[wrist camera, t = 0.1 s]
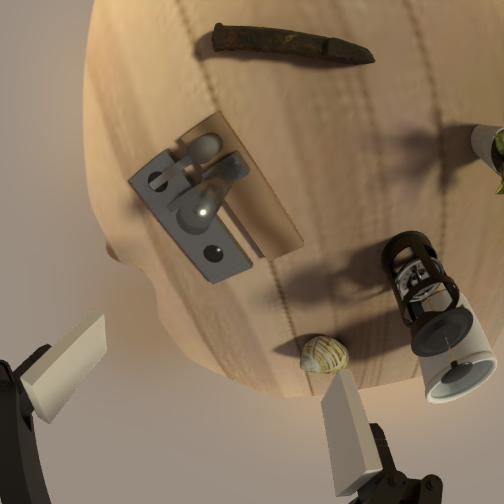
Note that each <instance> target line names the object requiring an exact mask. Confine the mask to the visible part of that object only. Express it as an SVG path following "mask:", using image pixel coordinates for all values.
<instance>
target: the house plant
mask: <svg viewBox="0 0 504 504" xmlns="http://www.w3.org/2000/svg"><path fill="white" fill-rule="evenodd" d="M471 146H472V149H473V151H474V152H475V154H476V155H477V156H479V157H480V158H481V159H482V160H483V161H484V162H485V163H486V164H487V165H488V166H489V167H490V168H492V169H493V170H494V171H495V172H496V173H497V174H498V175H499V176H501V182H500V186H499V188H498V189H497V190H496V192H495V194H496V193H497V194H504V184H503V183H504V127H500V126H489V125H478V126H476V127H475V128H474V129H473V131H472V134H471Z"/></svg>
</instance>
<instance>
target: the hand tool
mask: <svg viewBox="0 0 504 504" xmlns="http://www.w3.org/2000/svg"><path fill="white" fill-rule="evenodd" d="M212 42H213V48H214V51H215V52H219V51H222V50H223V49H227V50H230V51H234V50H235V49H239V50H247V51H257V52H260V51H262V52H279V53H288V54H296V55H302V56H309V57H315V58H321V59H325V60H329V61H335V62H341V63H353V64H357V63H364V64H368V63H374V62H375V59H374V57H373V55H372V54H371V52H370V51H369V50H368V49H366V48H364V47H361V46H359V45H356V44H353V43H349V42H347V41H344V40H341V39H338V38H327V37H323V36H318V35H312V34H306V33H302V32H295V31H291V30H283V29H275V28H265V27H253V26H225V25H223V24H221V23H217V24H216V25H215V27H214V32H213V36H212Z"/></svg>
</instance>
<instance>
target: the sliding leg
mask: <svg viewBox="0 0 504 504" xmlns="http://www.w3.org/2000/svg"><path fill="white" fill-rule="evenodd" d="M250 170H251V169H250V167H249V166H248V164H247V163H246V161H245V160H244V158H243V157H242V155H241V154H240V152H239V151H238V150H237V151H235V152H234V153H232V154H230V155H229V156H227V157H225V158H224V159H222V160H221V161H219V162H217V163H216V164H214V165H213V166H211V167H210V168H208V169H207V170H206V171H205V172H204V173H203V174H202V176H203V178H204V179H203V181H202V182H200V183H198V184H197V185H195V186H194V187H192V188H191V189H189V190H188V191H186V192H185V193H183V194H182V195H180V196H179V197H177V198H176V199H175V200H173V201H172V202H170V203H168V205H167V206H166V208H167V209H168V210H169V211H170V213H172V212H173V211H175V210H176V209H178V208H179V207H180V208H179V209H178V211H177V214H176V220H177V223H178V225H179V226H180V228H181V229H182V230H183V231H185V232H186V233H188V234H191V235H200V234H203V233H205V232H206V231H207V230H208V228H209V226H210V225H211V223H212V221H213V219H214V217H215V215H216V214H217V212H218V210H219V208H220V206H221V204H222V203H223V201H224V199H225V197H226V196H227V194H228V192H229V190H230V188H231V187H232V185H233V183H234V182H236V181H238V180H239V179H241V178H243V177H245V176H246V175H248V174H249V172H250Z"/></svg>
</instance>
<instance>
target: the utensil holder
mask: <svg viewBox="0 0 504 504" xmlns="http://www.w3.org/2000/svg"><path fill="white" fill-rule="evenodd" d="M459 292H460V291H459ZM429 298H430V301H431V303H432V305H433V307H434V310H435V311H444V310H445V309H446V308H447V307H448V306H449V305H450V303H451V302H452V299H451V297H450V295H449V293H448V291H447V290H444V291H440V292H438V293H436V294H434V295H432V296H430V297H429ZM421 304H422V306H423V309H424V311H425V312H427V311H432V309H431V307H430V304H429V302H428V300H427V299H426V300H425V301H424V302H422V303H421ZM461 304H463V305H464V307H465V308H467V309H469V310H470V311H471V313H472V315H473V325H472V327H471V329H470V331H469V333H468V334H467V335H466V337H465V338H464V339H463V340H462V341H461V342H460V343H459V344H457V345H456V346H455V347H453V348H452V349H451V352H452V355H453V358H454V360H457V362H458V365H459V364H462V363H465V362H471V363H473V368H472V369H471V371H470V372H469V373H468V374H467V375H466V376H465V377H463V378H462V379H460V380H458V381H456V382H454V383H450V384H443V383H441V378H442V377H443V375H444V374H445V373H446V372H448V371H449V370H450V369H451V365H450V363H451V362H452V361H451V358H450V355H449V352H448V351H446V352H444V353H442V354H439V355H436V356H431V357H421V356H418V358H419V362H420V366H421V370H422V375H423V380H424V384H425V396H426V399H427V401H428V402H430V403H434V404H440V403H445V402H449V401H452V400H455V399H457V398H460V397H462V396H464V395H466V394H468V393H470V392H471V391H473V390H474V389H476V388H477V387H479V386H480V385H481V384H483V383H484V382H485V381H486V380H487V379H488V378H489V377H490V376H491V375H492V374H493V372H494V371H495V369H496V367H497V359H496V357H495V355H494V354H493V353H492V350H491V348H490V345H489V343H488V341H487V338H486V336H485V334H484V332H483V330H482V328H481V326H480V323H479V321H478V319H477V317H476V315H475V313H474V311H473V310H472V308H471V306H470V304H469V303H468V301H467V299H466V298H465V296H464V295H463V294H462V293H461V292H460V298H459V302H458V304H457V306H456V307H460V306H461ZM411 322H412V320H411Z"/></svg>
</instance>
